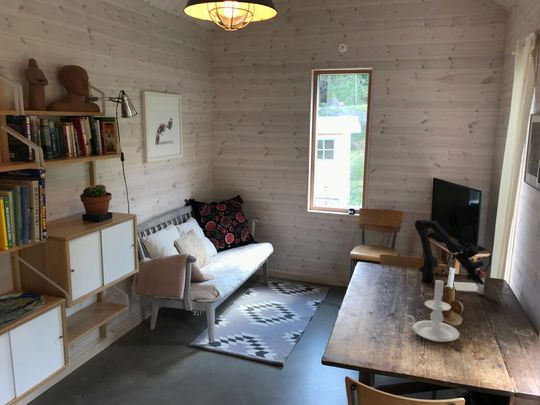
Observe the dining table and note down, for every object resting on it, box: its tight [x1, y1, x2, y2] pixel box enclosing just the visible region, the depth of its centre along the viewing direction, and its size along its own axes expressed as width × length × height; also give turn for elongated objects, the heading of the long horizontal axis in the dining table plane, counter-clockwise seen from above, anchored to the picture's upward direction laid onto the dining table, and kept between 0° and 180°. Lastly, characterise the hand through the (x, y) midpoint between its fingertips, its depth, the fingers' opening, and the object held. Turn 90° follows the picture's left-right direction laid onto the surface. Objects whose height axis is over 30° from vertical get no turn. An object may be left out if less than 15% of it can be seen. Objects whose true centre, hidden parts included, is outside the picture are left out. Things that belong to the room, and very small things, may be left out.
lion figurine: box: [432, 262, 450, 276], centre depth 290 cm, size 15×5×9 cm, turn 71°
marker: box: [476, 271, 487, 296], centre depth 253 cm, size 4×4×13 cm
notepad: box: [453, 281, 478, 293], centre depth 266 cm, size 17×15×1 cm
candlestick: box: [403, 279, 460, 343], centre depth 202 cm, size 21×25×28 cm
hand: (483, 283), depth 252 cm, fingers closed on marker, 3 cm apart
